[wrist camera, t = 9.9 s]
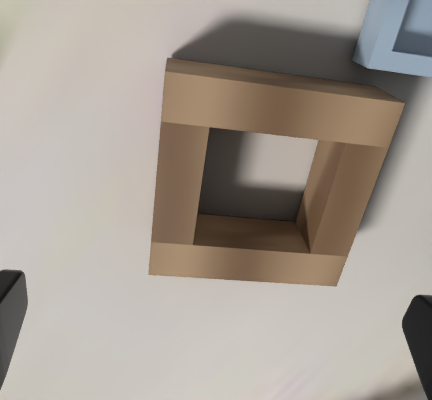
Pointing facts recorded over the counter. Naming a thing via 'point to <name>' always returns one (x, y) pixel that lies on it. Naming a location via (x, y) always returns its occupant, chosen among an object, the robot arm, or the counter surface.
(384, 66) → the tray
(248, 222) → the brown square frame
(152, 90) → the counter surface
